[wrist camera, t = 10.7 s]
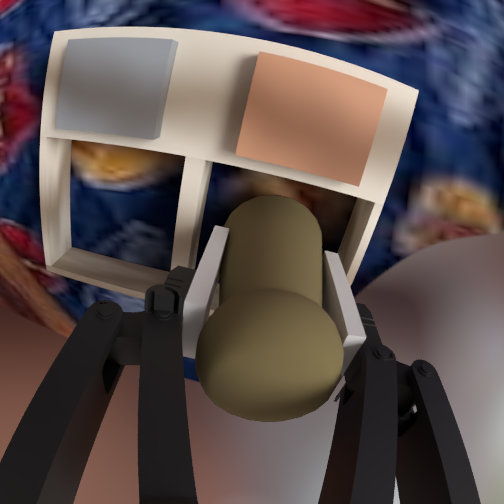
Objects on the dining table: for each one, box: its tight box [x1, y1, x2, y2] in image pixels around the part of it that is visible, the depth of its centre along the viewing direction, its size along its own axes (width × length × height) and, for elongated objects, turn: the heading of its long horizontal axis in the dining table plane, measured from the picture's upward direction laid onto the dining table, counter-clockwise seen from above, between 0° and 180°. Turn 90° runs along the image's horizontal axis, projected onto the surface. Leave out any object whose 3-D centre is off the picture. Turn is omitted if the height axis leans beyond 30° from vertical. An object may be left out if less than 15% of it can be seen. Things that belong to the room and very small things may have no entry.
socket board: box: [40, 27, 419, 316], centre depth 17 cm, size 16×20×4 cm
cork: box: [195, 195, 344, 422], centre depth 14 cm, size 6×6×11 cm
